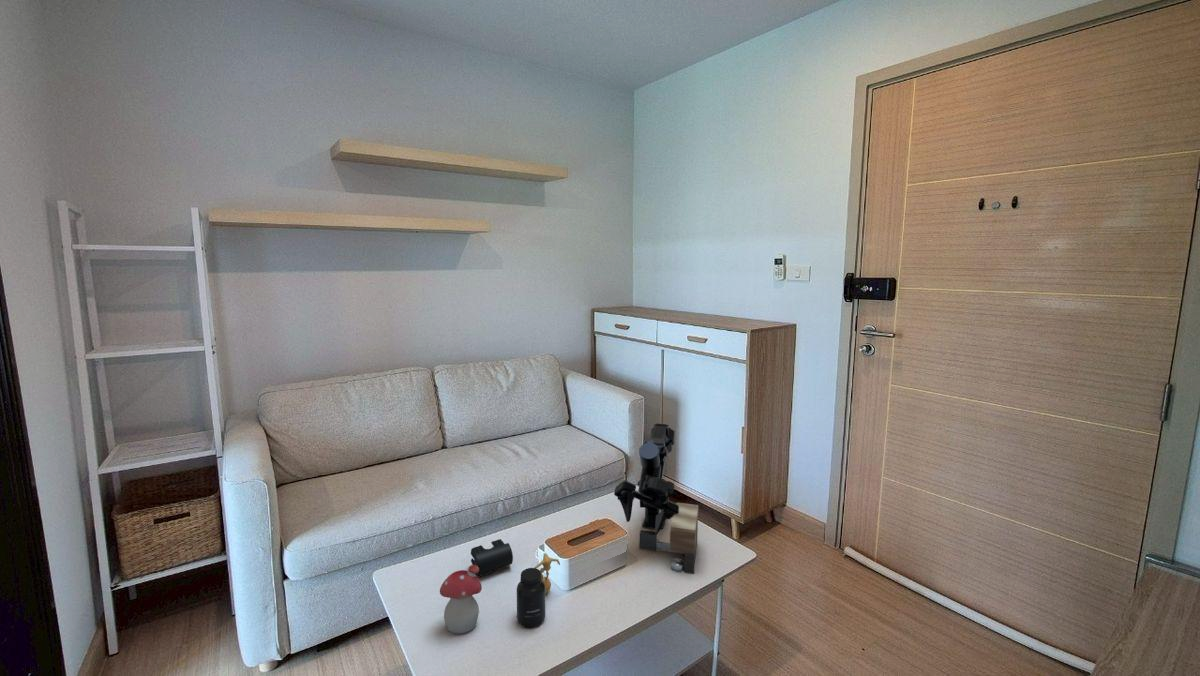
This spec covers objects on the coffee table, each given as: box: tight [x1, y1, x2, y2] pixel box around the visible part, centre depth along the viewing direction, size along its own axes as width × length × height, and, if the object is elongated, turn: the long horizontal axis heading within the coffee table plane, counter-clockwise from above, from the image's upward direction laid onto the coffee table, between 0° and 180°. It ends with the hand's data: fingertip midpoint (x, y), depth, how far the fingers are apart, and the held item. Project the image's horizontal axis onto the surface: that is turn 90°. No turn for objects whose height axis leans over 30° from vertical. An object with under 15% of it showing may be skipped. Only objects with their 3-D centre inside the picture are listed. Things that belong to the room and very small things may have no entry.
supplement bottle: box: [516, 567, 546, 629], centre depth 119 cm, size 7×7×12 cm
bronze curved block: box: [668, 502, 699, 575], centre depth 144 cm, size 14×7×13 cm, turn 165°
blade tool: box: [638, 529, 685, 555], centre depth 148 cm, size 2×14×5 cm, turn 75°
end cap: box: [470, 538, 514, 578], centre depth 139 cm, size 10×7×7 cm
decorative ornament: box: [439, 564, 483, 634], centre depth 117 cm, size 9×7×15 cm
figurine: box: [533, 552, 561, 594], centre depth 128 cm, size 8×6×12 cm
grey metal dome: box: [670, 557, 685, 573], centre depth 139 cm, size 4×4×2 cm
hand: (642, 527), depth 138 cm, fingers open, 9 cm apart
